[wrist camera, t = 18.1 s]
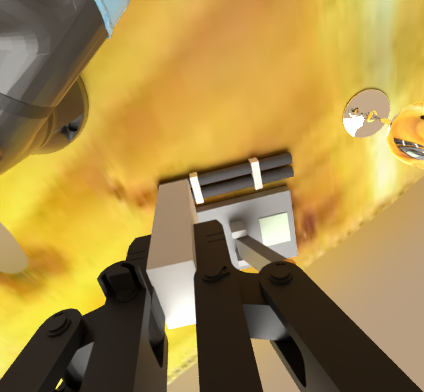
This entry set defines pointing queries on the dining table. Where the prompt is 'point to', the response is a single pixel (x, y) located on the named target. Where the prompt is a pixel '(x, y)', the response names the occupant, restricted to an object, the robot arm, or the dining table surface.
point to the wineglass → (398, 127)
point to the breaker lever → (257, 253)
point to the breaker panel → (255, 221)
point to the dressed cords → (239, 170)
